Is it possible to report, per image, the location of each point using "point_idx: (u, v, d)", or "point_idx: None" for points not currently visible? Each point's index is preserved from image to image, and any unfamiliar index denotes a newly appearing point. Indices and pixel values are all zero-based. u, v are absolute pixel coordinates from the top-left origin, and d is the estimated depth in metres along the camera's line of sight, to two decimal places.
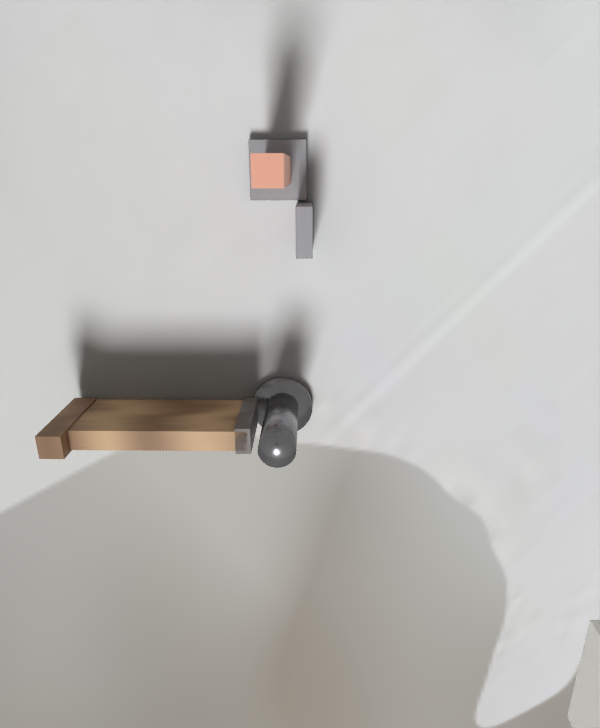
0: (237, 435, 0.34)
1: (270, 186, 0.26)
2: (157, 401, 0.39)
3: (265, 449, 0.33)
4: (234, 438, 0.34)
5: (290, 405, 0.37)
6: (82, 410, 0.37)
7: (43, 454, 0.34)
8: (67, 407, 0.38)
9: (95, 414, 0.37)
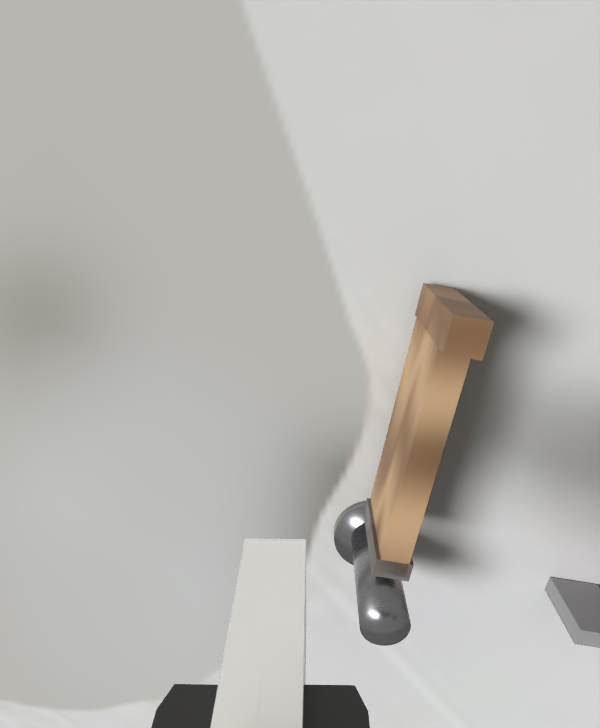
0: (402, 566, 0.25)
1: None
2: None
3: (390, 615, 0.25)
4: (399, 562, 0.25)
5: None
6: None
7: (459, 324, 0.20)
8: None
9: None
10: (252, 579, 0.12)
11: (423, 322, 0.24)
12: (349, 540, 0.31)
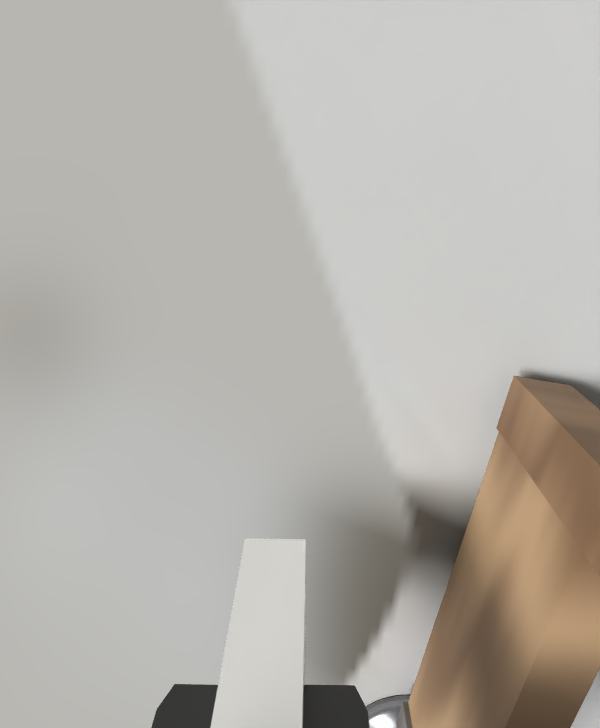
0: None
1: None
2: None
3: None
4: None
5: None
6: None
7: None
8: None
9: None
10: (252, 580, 0.12)
11: (523, 458, 0.13)
12: None
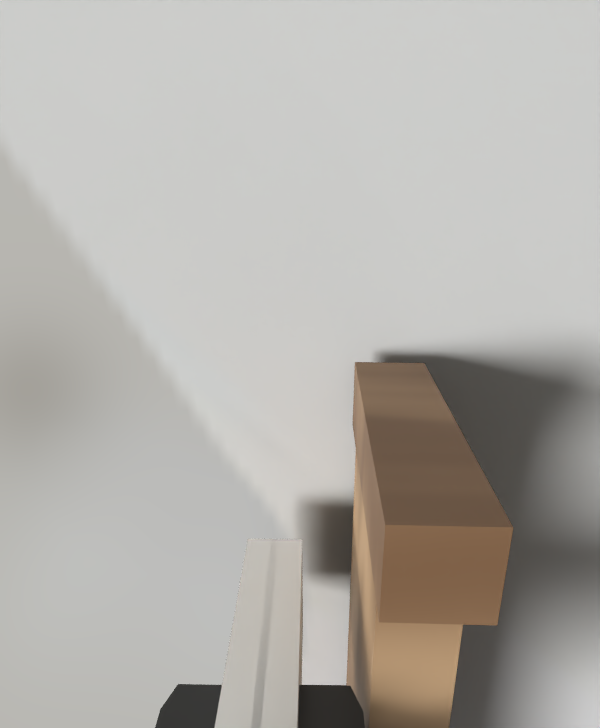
0: None
1: None
2: None
3: None
4: None
5: None
6: None
7: (408, 545, 0.07)
8: None
9: None
10: (255, 580, 0.12)
11: (358, 460, 0.11)
12: None
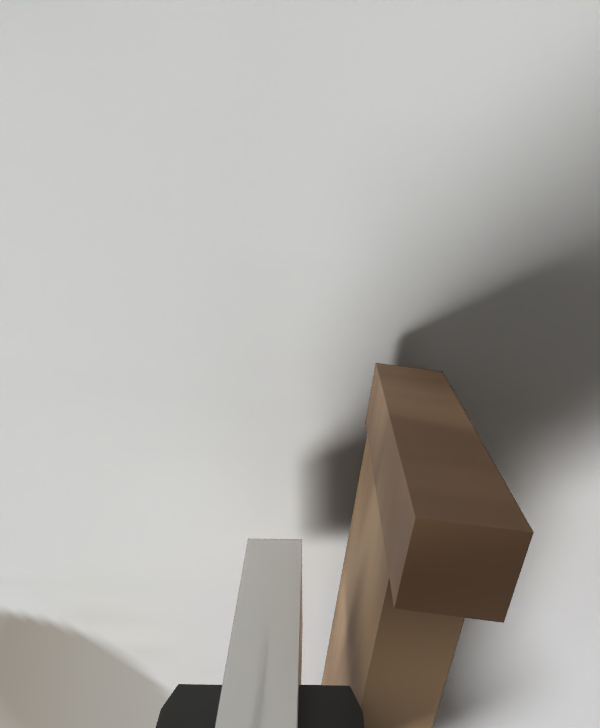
0: None
1: None
2: None
3: None
4: None
5: None
6: None
7: (433, 538, 0.07)
8: None
9: None
10: (255, 580, 0.12)
11: (372, 457, 0.11)
12: None
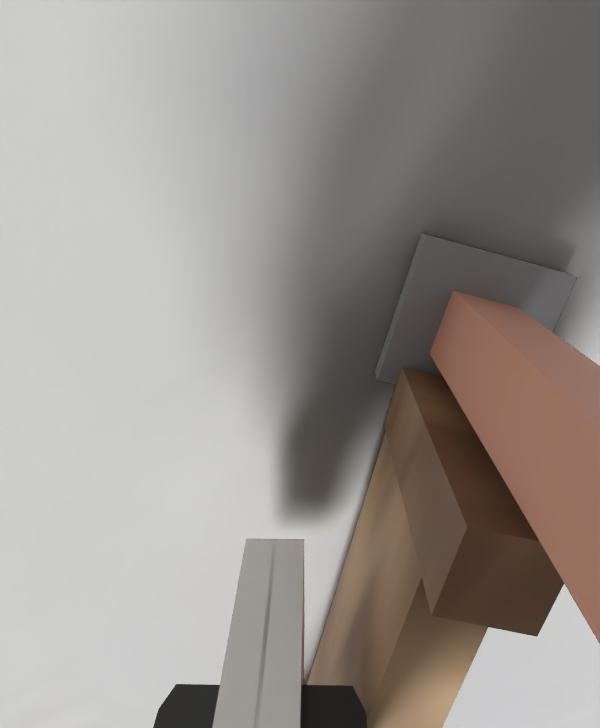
0: None
1: None
2: None
3: None
4: None
5: None
6: None
7: (481, 549, 0.07)
8: None
9: None
10: (253, 579, 0.12)
11: (395, 460, 0.11)
12: None
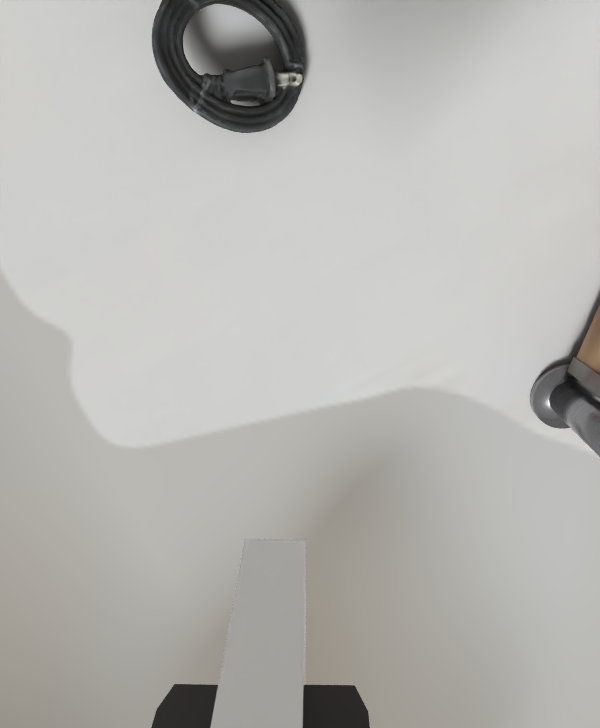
0: None
1: None
2: None
3: None
4: None
5: None
6: None
7: None
8: None
9: None
10: (252, 579, 0.12)
11: None
12: None
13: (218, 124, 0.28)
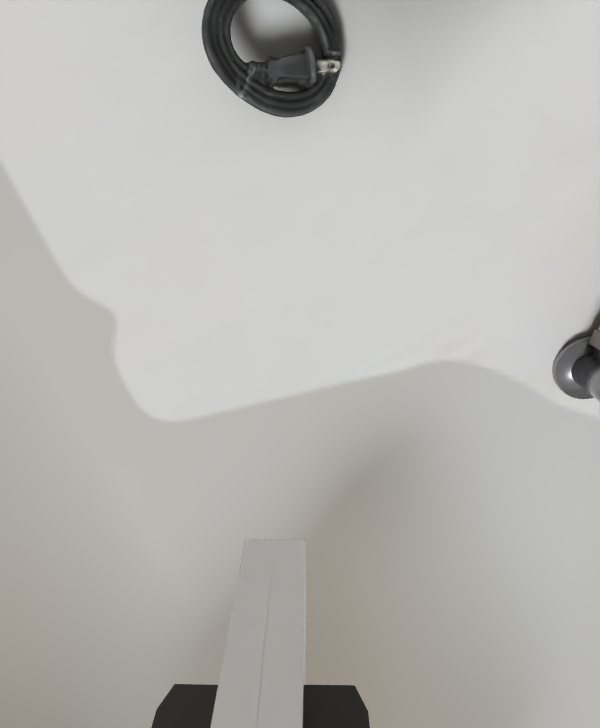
0: None
1: None
2: None
3: None
4: None
5: None
6: None
7: None
8: None
9: None
10: (252, 579, 0.12)
11: None
12: None
13: (262, 109, 0.30)
